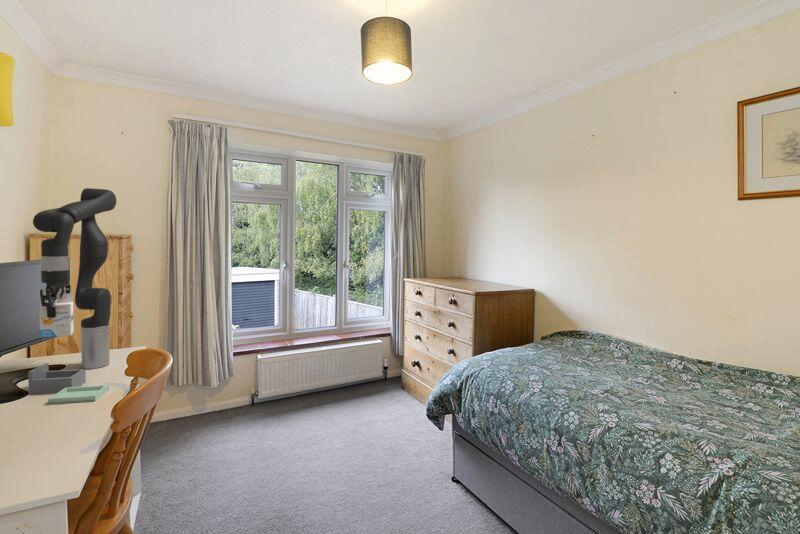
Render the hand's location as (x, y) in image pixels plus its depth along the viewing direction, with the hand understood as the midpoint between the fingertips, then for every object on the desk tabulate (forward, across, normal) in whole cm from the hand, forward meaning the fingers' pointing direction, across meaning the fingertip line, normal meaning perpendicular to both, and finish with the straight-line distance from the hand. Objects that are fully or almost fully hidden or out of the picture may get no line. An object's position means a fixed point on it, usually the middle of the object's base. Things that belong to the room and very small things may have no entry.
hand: (56, 315), depth 135 cm
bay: (+27, 0, 0) cm, 27 cm away
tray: (+27, +10, +11) cm, 30 cm away
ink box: (+7, 0, 0) cm, 7 cm away
